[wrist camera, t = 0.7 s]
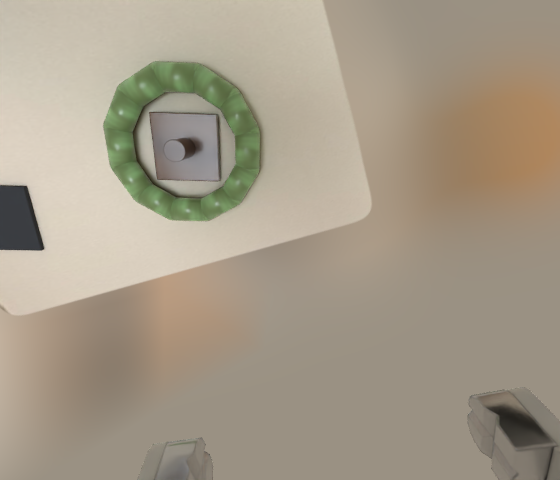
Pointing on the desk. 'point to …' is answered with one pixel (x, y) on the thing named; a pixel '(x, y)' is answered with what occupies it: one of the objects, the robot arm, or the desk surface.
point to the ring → (210, 88)
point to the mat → (18, 220)
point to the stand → (186, 146)
